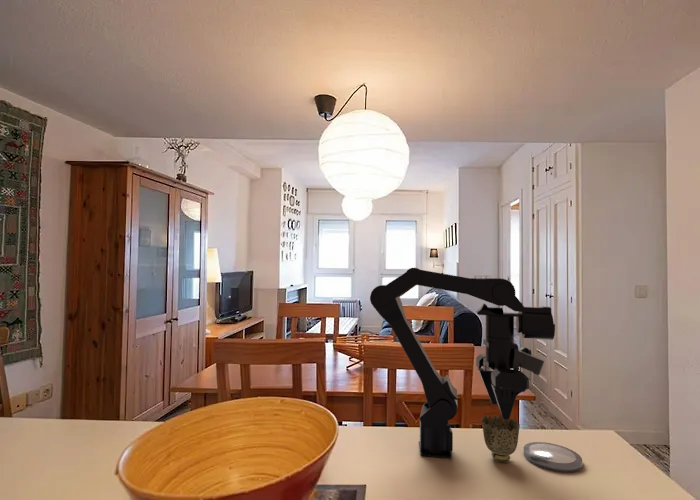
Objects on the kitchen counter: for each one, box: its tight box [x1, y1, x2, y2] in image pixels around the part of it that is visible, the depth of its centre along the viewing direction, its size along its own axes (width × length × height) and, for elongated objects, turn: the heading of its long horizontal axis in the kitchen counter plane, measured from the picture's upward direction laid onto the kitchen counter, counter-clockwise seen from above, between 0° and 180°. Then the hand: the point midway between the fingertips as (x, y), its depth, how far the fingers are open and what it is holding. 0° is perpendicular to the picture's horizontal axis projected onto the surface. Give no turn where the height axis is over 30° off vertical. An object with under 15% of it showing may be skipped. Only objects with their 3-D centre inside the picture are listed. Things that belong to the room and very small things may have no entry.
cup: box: [481, 414, 521, 464], centre depth 80 cm, size 8×7×8 cm
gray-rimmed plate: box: [523, 441, 583, 474], centre depth 81 cm, size 11×11×1 cm
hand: (499, 411), depth 81 cm, fingers open, 9 cm apart
